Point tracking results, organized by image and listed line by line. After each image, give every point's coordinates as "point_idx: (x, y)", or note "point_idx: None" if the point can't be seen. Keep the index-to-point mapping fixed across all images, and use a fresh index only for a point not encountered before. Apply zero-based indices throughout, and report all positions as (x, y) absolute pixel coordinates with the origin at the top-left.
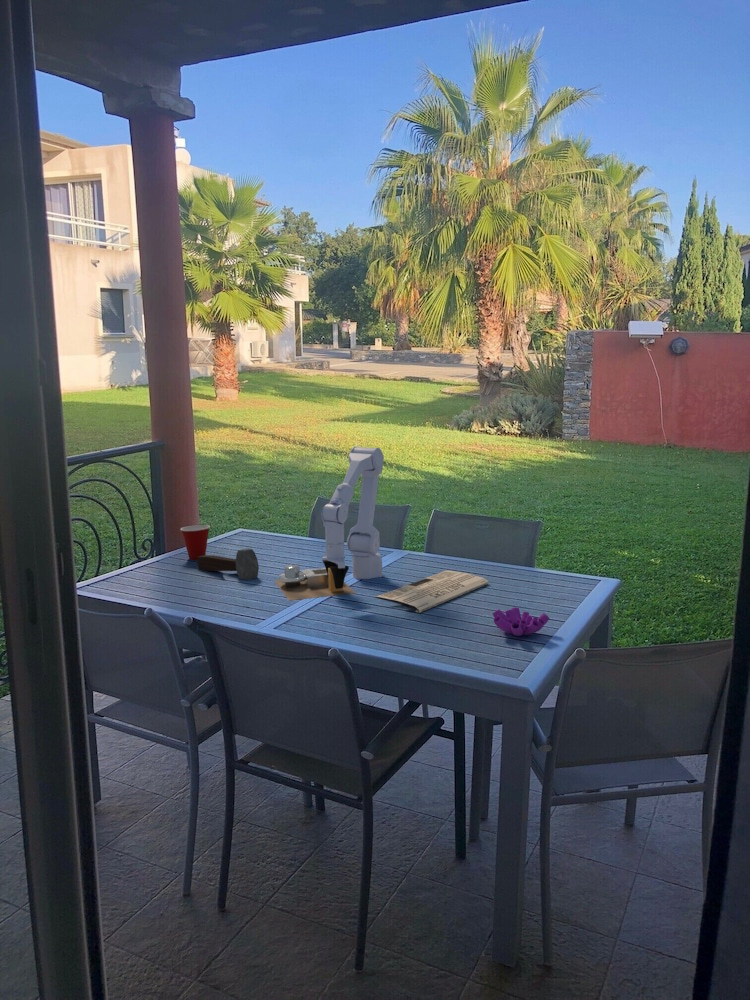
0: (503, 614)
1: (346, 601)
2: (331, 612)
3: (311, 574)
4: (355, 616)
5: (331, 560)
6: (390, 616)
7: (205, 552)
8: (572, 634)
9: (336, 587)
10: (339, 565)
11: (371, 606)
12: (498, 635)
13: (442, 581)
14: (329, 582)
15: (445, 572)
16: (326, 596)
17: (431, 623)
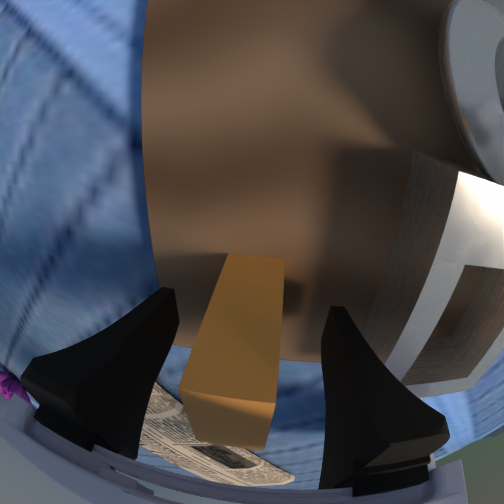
0: (2, 390)
1: (136, 276)
2: (27, 171)
3: (485, 234)
4: (7, 238)
5: (61, 473)
6: (23, 313)
7: None
8: (32, 403)
9: (156, 293)
10: (7, 413)
11: (80, 320)
12: (7, 366)
13: (208, 468)
14: (248, 294)
15: (273, 481)
16: (147, 198)
17: (14, 343)
